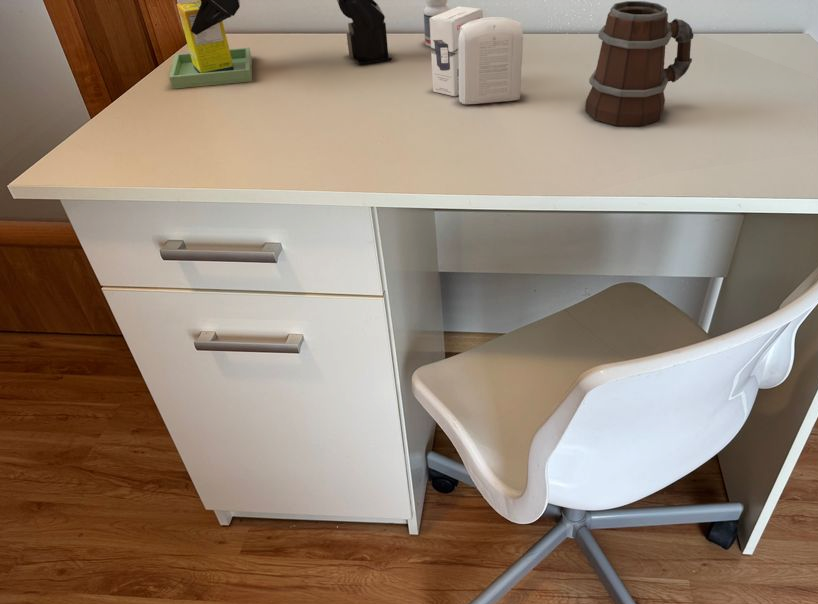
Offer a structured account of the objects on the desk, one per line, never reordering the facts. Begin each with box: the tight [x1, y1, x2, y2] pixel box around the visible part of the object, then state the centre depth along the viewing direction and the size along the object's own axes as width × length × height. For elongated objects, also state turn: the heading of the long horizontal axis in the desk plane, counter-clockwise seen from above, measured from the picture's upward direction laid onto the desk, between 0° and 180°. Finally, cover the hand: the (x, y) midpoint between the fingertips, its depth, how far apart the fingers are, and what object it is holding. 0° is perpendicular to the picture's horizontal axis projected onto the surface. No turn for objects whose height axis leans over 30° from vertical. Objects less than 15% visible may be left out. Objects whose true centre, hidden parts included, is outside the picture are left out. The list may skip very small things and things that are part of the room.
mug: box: [584, 0, 694, 127], centre depth 100 cm, size 16×12×15 cm
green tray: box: [168, 47, 253, 90], centre depth 121 cm, size 13×13×2 cm
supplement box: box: [176, 0, 234, 73], centre depth 118 cm, size 6×6×11 cm
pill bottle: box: [423, 0, 451, 48], centre depth 130 cm, size 5×5×9 cm
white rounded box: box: [458, 16, 524, 105], centre depth 105 cm, size 10×4×12 cm, turn 103°
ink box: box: [430, 5, 484, 97], centre depth 110 cm, size 8×5×12 cm, turn 146°
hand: (195, 25), depth 117 cm, fingers open, 9 cm apart
